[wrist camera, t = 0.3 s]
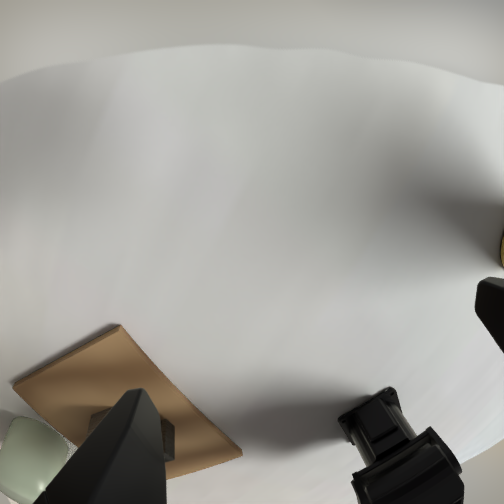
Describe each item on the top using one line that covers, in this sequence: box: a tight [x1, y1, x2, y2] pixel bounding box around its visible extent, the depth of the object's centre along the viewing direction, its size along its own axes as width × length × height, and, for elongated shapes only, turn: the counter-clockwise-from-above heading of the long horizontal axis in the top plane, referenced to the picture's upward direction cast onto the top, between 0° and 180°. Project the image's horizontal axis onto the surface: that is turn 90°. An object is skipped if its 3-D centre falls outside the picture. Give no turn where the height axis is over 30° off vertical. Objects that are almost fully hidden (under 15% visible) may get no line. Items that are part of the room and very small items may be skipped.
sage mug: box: [0, 417, 68, 504], centre depth 21 cm, size 7×9×8 cm
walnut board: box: [12, 325, 243, 480], centre depth 24 cm, size 18×14×1 cm
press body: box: [85, 407, 175, 463], centre depth 22 cm, size 7×8×5 cm
